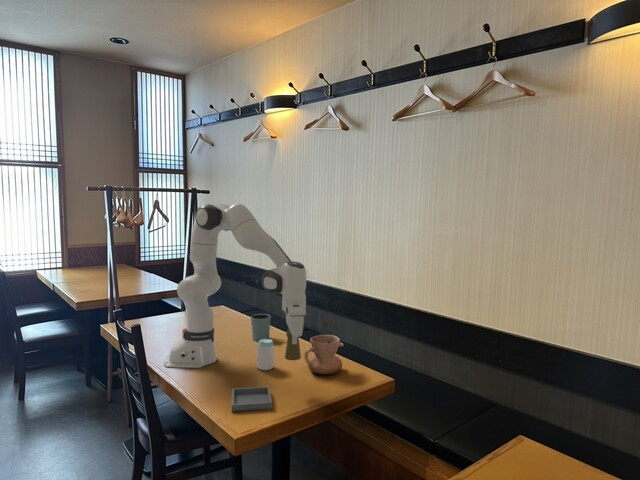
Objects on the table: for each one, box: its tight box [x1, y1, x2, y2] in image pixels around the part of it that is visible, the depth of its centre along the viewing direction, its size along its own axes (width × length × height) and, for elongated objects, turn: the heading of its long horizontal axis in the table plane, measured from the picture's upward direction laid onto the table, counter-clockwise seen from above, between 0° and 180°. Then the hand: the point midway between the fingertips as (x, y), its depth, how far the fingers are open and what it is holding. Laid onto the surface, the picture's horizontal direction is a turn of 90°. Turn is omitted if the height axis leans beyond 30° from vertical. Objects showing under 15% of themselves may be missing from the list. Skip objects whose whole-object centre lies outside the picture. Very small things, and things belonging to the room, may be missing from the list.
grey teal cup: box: [250, 313, 272, 342], centre depth 231 cm, size 10×10×12 cm
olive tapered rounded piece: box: [284, 328, 302, 361], centre depth 169 cm, size 6×6×11 cm
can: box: [256, 338, 275, 371], centre depth 191 cm, size 7×7×12 cm
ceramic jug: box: [304, 334, 344, 376], centre depth 188 cm, size 18×14×14 cm
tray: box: [231, 386, 273, 413], centre depth 158 cm, size 14×14×2 cm
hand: (293, 341), depth 168 cm, fingers closed on olive tapered rounded piece, 4 cm apart
